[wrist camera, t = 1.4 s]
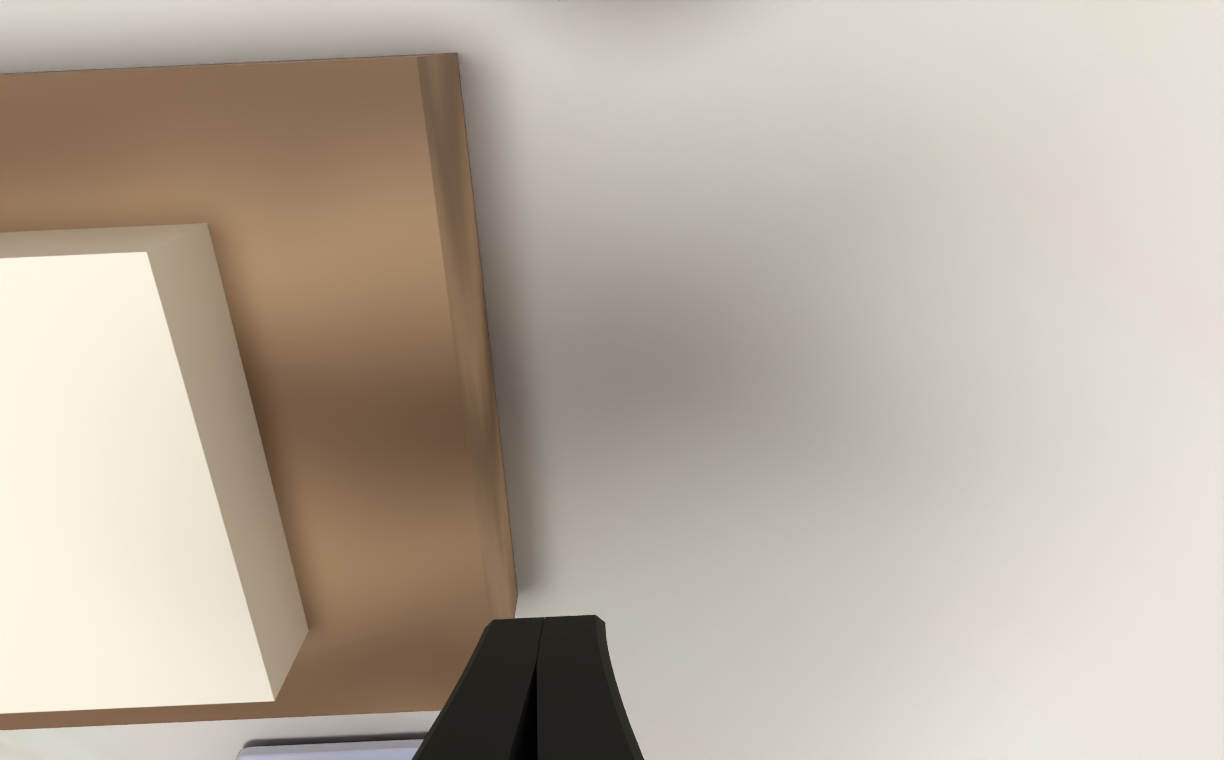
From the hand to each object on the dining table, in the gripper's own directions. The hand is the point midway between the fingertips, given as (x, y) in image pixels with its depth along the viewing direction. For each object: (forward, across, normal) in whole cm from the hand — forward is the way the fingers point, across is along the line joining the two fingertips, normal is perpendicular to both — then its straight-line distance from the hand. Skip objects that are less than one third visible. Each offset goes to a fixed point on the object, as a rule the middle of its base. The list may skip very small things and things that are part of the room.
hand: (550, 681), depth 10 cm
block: (+6, +9, 0) cm, 11 cm away
